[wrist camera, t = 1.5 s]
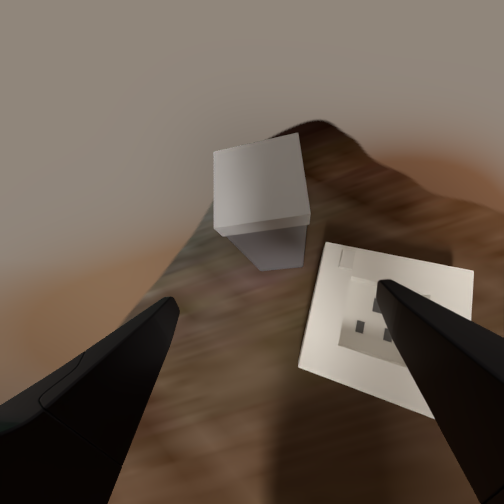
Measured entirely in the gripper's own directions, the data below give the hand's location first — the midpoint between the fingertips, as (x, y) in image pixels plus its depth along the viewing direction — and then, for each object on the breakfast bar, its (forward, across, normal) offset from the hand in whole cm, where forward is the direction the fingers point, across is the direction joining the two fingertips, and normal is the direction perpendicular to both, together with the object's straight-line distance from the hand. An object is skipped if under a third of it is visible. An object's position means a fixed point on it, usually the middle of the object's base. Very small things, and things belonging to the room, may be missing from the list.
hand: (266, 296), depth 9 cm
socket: (+7, -8, +10) cm, 14 cm away
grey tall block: (+12, 0, +4) cm, 13 cm away
